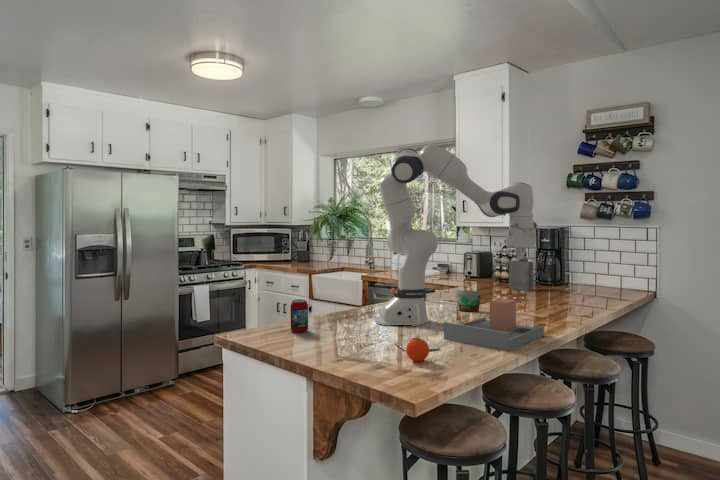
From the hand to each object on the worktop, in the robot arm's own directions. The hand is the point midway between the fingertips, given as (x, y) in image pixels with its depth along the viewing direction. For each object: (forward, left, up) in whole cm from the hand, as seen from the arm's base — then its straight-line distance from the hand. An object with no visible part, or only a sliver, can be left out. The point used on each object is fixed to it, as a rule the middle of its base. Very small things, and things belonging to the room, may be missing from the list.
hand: (520, 259), depth 192 cm
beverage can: (-87, +6, -28) cm, 91 cm away
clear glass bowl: (-47, -22, -28) cm, 59 cm away
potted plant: (-9, +36, -28) cm, 46 cm away
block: (-11, -9, -25) cm, 28 cm away
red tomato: (-51, -38, -28) cm, 69 cm away
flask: (+46, +97, -28) cm, 111 cm away
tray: (-16, -13, -27) cm, 34 cm away
